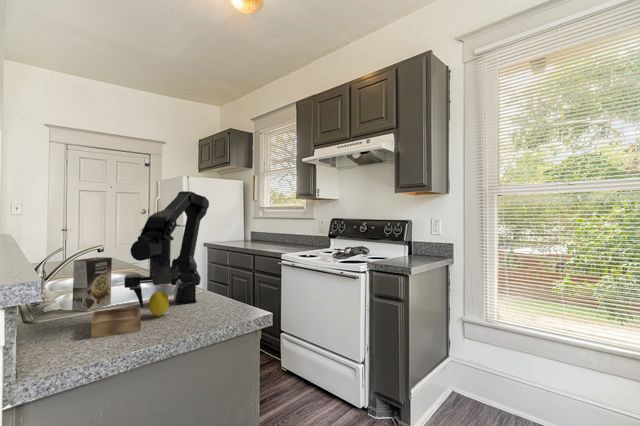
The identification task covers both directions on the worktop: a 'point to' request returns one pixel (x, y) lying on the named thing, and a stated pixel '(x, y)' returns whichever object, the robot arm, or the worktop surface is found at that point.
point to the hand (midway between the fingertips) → (159, 306)
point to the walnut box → (115, 322)
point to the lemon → (159, 303)
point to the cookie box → (91, 283)
